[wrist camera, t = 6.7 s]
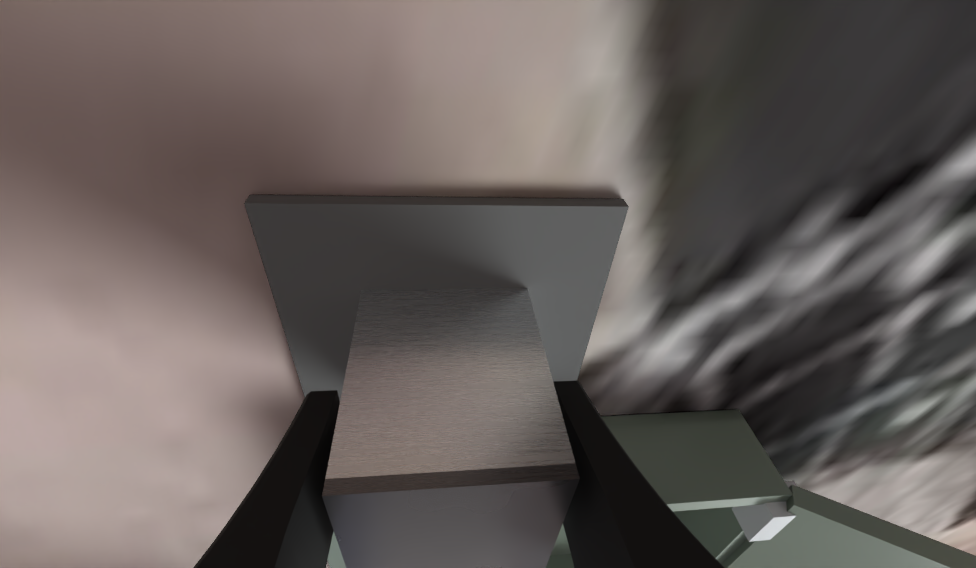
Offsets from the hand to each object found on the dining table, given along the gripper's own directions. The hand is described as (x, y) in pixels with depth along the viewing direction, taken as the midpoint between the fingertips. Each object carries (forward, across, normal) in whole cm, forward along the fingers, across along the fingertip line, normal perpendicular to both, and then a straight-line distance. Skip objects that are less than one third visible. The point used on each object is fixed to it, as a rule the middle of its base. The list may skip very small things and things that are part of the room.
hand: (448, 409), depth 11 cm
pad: (+3, 0, 0) cm, 3 cm away
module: (+2, 0, 0) cm, 3 cm away
